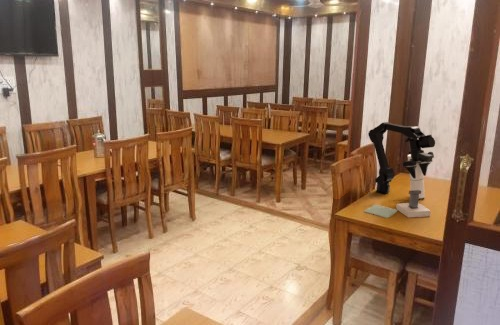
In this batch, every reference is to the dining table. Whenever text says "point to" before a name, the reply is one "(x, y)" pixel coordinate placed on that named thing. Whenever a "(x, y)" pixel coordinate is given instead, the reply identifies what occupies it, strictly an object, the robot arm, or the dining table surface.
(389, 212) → the pad
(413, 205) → the t key
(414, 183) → the cylindrical container
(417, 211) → the socket block
